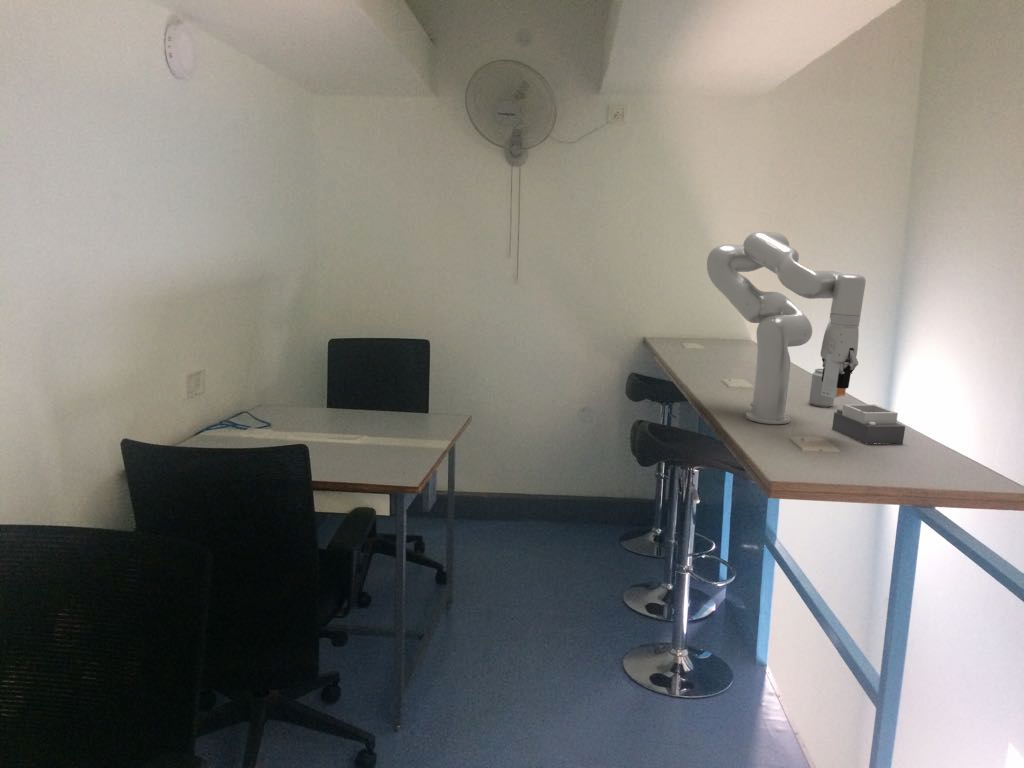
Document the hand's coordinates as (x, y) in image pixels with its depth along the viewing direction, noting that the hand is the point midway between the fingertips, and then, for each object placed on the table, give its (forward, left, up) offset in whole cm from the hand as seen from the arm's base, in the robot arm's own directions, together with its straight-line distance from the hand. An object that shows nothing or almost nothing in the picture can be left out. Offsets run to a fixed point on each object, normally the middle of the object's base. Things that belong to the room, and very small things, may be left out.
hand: (834, 384), depth 206 cm
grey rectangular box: (0, +12, -15) cm, 19 cm away
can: (-37, +21, -15) cm, 46 cm away
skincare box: (0, 0, -3) cm, 3 cm away
